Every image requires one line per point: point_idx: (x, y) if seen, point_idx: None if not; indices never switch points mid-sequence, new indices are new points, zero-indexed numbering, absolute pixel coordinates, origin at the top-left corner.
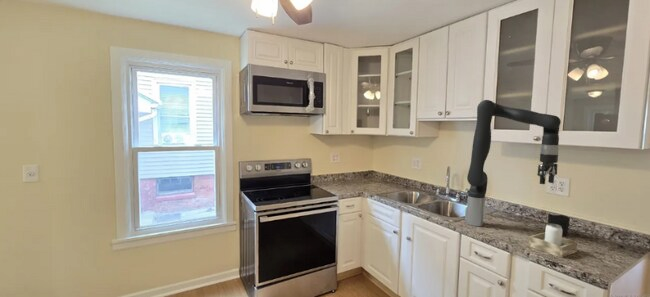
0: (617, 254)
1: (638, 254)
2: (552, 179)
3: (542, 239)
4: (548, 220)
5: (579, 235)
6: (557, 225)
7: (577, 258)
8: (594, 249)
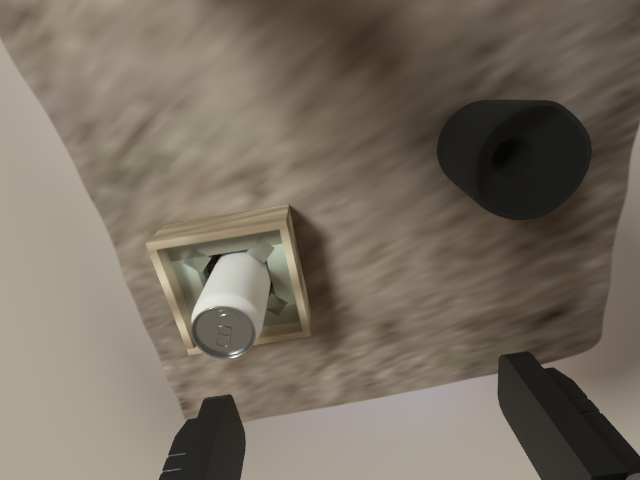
0: (438, 352)
1: None
2: (532, 458)
3: (231, 244)
4: (476, 121)
5: None
6: (250, 330)
7: None
8: (412, 310)
